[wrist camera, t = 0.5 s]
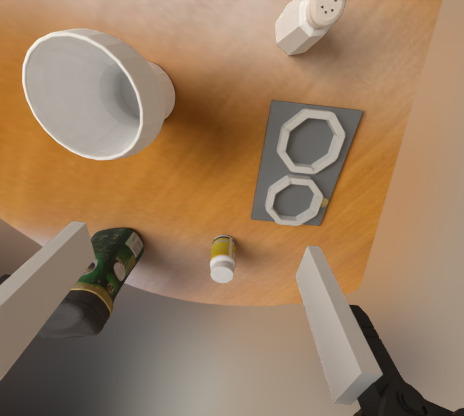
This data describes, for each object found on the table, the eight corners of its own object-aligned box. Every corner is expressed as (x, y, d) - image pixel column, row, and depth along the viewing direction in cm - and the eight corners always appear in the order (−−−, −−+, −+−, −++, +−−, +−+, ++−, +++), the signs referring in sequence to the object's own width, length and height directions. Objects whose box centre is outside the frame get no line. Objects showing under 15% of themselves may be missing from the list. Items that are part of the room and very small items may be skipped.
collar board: (271, 100, 31) (274, 101, 29) (360, 110, 32) (368, 112, 30) (250, 217, 41) (251, 224, 39) (318, 223, 42) (322, 230, 40)
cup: (184, 51, 28) (142, 29, 15) (186, 135, 34) (156, 171, 21) (101, 42, 28) (-14, 12, 15) (116, 129, 33) (42, 161, 20)
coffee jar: (108, 258, 47) (43, 350, 31) (90, 229, 43) (5, 317, 27) (150, 253, 46) (106, 345, 30) (136, 223, 42) (77, 311, 26)
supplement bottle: (207, 244, 45) (202, 276, 38) (221, 230, 43) (219, 260, 36) (226, 255, 46) (224, 288, 39) (240, 242, 44) (241, 274, 37)
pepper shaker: (307, 61, 29) (343, 53, 19) (268, 49, 28) (285, 35, 19) (326, 8, 26) (378, -33, 16) (283, -7, 25) (311, -57, 16)
